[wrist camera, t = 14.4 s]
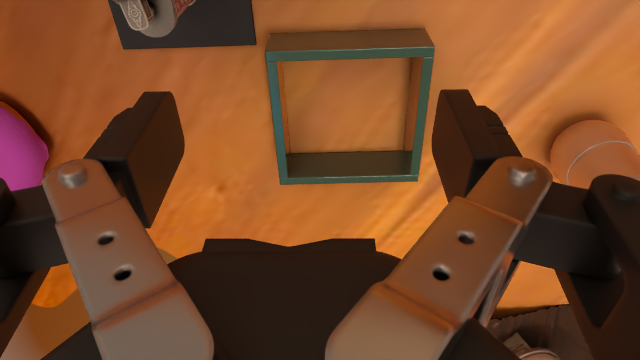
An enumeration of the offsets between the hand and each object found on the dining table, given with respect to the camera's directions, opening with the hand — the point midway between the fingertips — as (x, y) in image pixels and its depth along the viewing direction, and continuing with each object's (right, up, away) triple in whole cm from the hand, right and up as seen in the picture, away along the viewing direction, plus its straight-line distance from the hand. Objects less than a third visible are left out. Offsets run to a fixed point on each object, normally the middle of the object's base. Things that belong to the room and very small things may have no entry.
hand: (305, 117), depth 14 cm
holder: (+3, +5, +26) cm, 27 cm away
